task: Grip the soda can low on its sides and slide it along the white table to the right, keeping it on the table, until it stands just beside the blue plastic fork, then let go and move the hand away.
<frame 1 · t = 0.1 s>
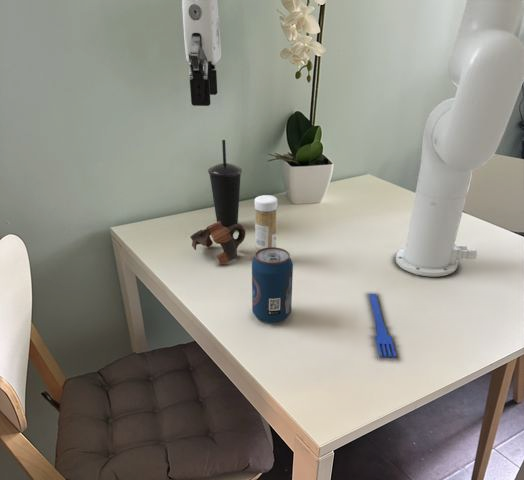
hand: (205, 99, 90), 31 cm above the table, tool pointing down, fingers open, 9 cm apart
sprinkles bottle: (265, 260, 108), on the table
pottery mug: (220, 255, 110), on the table
blue fork: (379, 324, 88), on the table
soda can: (271, 316, 91), on the table
drinking cup: (227, 227, 122), on the table
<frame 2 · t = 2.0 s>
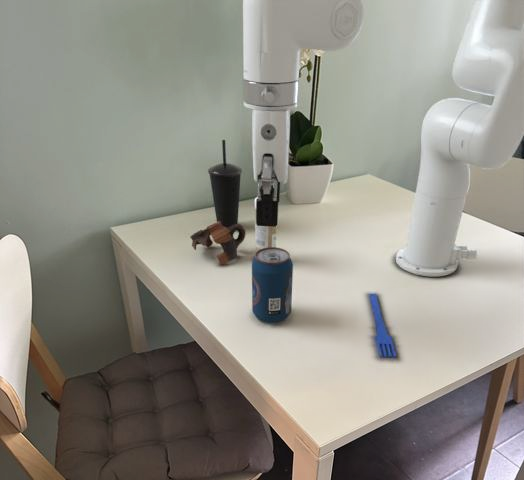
hand: (268, 213, 80), 19 cm above the table, tool pointing down, fingers open, 9 cm apart
nothing on the table moved.
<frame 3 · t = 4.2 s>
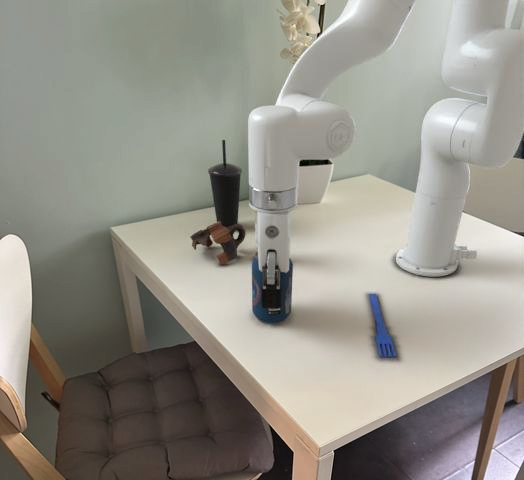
hand: (271, 295, 88), 4 cm above the table, tool pointing down, fingers closed on soda can, 7 cm apart
soda can: (271, 316, 91), on the table, touching gripper
everything else where it was.
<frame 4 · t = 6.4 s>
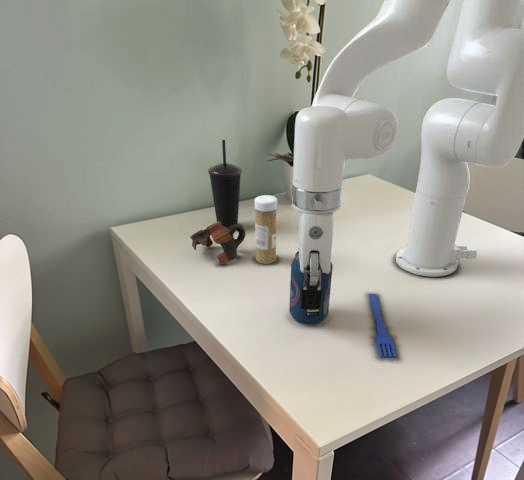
hand: (309, 296, 88), 4 cm above the table, tool pointing down, fingers closed on soda can, 7 cm apart
soda can: (308, 317, 90), on the table, touching gripper
everything else where it was.
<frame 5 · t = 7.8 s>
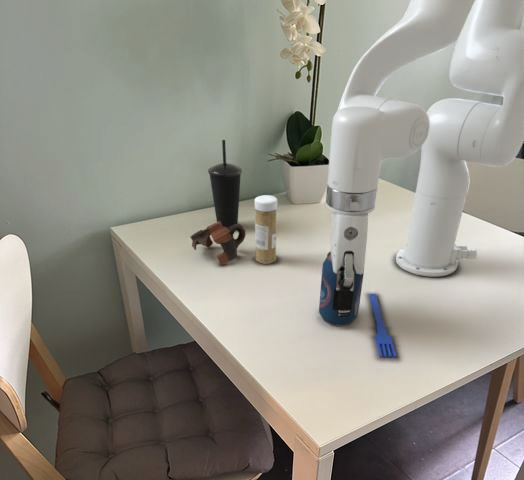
hand: (340, 296, 88), 4 cm above the table, tool pointing down, fingers closed on soda can, 7 cm apart
soda can: (337, 318, 90), on the table, touching gripper
everything else where it was.
when the fingers open (4 cm above the table, at t = 8.6 s): soda can stays where it is, on the table.
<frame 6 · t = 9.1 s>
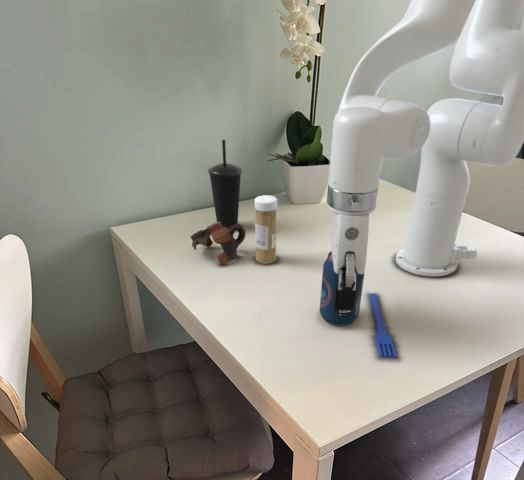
hand: (341, 294, 87), 5 cm above the table, tool pointing down, fingers open, 9 cm apart
soda can: (338, 318, 90), on the table
everything else where it was.
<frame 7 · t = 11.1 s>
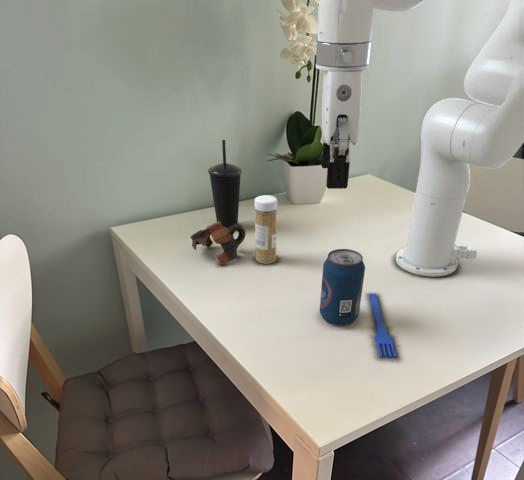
hand: (333, 177, 82), 23 cm above the table, tool pointing down, fingers open, 9 cm apart
nothing on the table moved.
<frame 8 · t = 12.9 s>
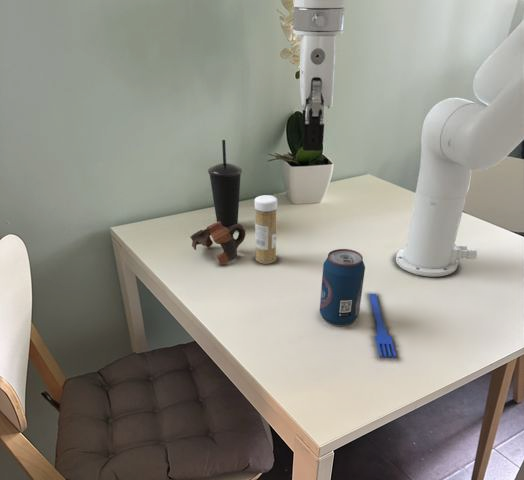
hand: (311, 141, 86), 26 cm above the table, tool pointing down, fingers open, 9 cm apart
nothing on the table moved.
at the end: soda can inside the target area (0.5 cm from its centre), on the table; soda can 7.3 cm from the blue fork (horizontally); soda can tilted 0° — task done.
